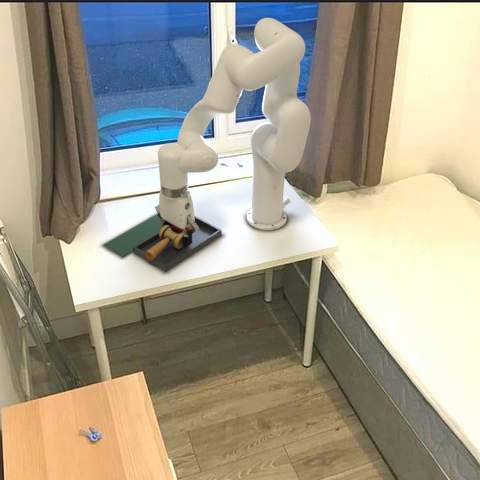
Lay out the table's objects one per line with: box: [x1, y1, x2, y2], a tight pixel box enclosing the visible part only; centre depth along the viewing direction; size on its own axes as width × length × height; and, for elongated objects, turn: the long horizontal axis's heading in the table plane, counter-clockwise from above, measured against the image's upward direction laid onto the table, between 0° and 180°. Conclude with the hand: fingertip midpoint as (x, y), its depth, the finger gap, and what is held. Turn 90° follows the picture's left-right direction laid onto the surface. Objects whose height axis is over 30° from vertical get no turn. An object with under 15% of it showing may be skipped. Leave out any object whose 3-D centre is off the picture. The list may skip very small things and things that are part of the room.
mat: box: [103, 213, 163, 258], centre depth 180 cm, size 23×8×1 cm, turn 142°
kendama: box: [145, 224, 189, 260], centre depth 172 cm, size 8×6×18 cm
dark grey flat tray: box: [132, 215, 223, 273], centre depth 176 cm, size 23×13×2 cm, turn 142°
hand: (177, 239), depth 176 cm, fingers closed on kendama, 7 cm apart
